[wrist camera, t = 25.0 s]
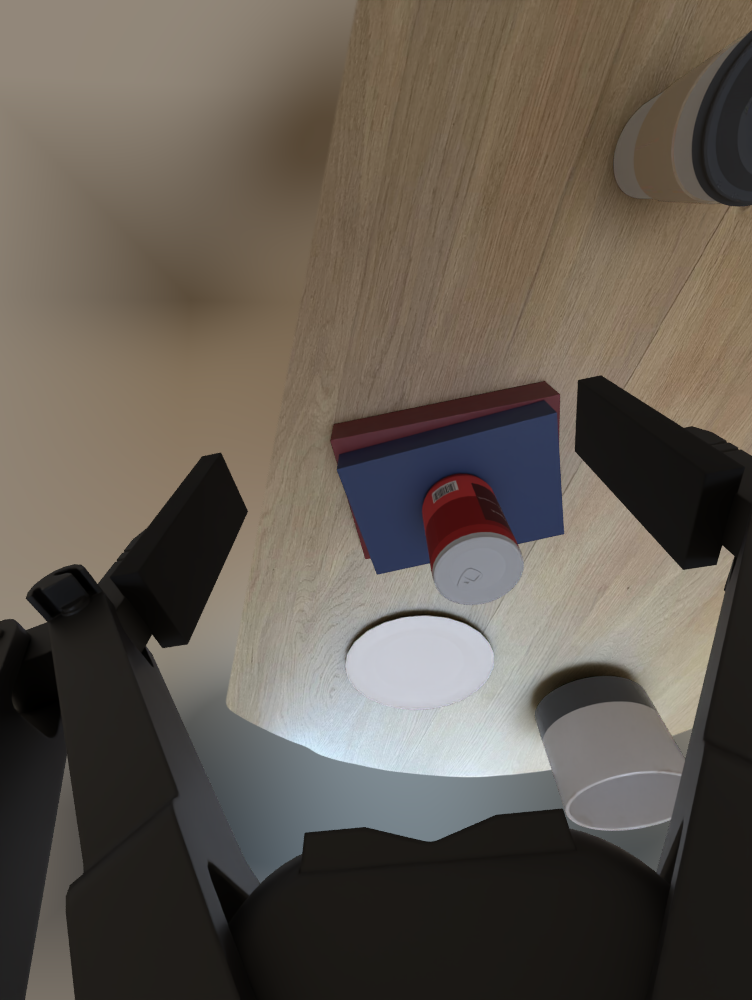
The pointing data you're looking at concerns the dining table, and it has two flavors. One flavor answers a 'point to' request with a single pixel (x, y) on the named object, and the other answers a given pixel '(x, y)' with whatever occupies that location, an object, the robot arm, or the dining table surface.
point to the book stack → (451, 467)
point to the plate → (419, 662)
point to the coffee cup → (694, 136)
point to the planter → (610, 754)
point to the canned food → (469, 541)
